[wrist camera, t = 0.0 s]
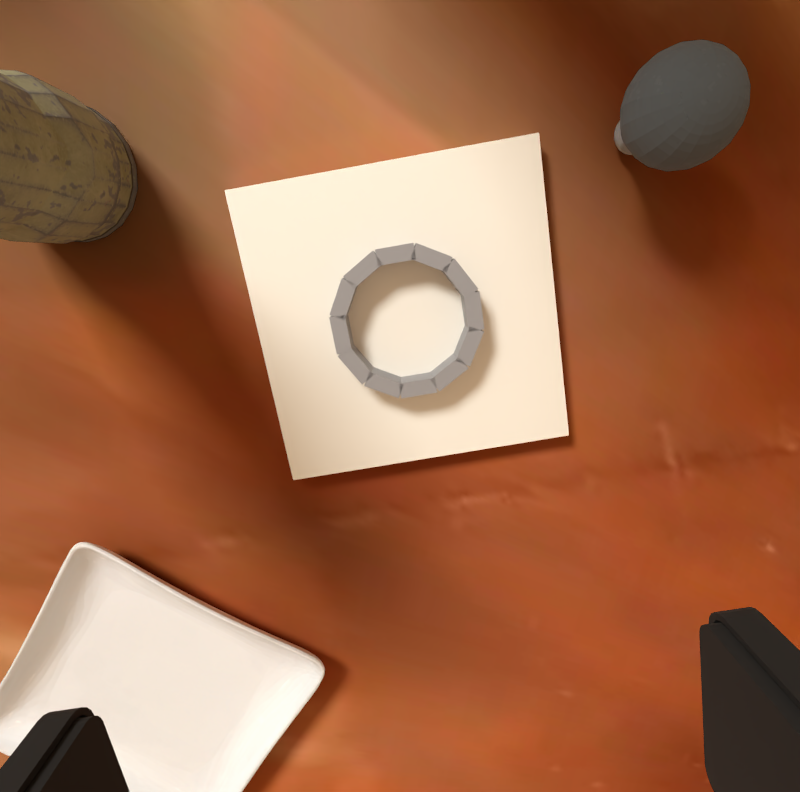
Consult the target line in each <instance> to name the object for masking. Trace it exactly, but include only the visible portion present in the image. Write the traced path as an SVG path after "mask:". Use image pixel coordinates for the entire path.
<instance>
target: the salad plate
mask: <svg viewBox="0 0 800 792" xmlns="http://www.w3.org/2000/svg"><path fill="white" fill-rule="evenodd" d="M324 674H325V668H324V665H323V663H322V661H321V660H320V659H319V658H318V657H317V656H315V655H314V654H312V653H311V652H309V651H307V650H305V649H303V648H301V647H299V646H297V645H294V644H292V643H290V642H287V641H285V640H283V639H280V638H278V637H276V636H274V635H271V634H269V633H267V632H265V631H263V630H260V629H258V628H256V627H254V626H252V625H249V624H247V623H245V622H243V621H241V620H239V619H237V618H235V617H233V616H231V615H229V614H227V613H225V612H223V611H221V610H219V609H217V608H215V607H213V606H211V605H209V604H207V603H205V602H203V601H201V600H199V599H197V598H195V597H193V596H191V595H189V594H188V593H186V592H184V591H182V590H180V589H178V588H176V587H174V586H172V585H171V584H169V583H167V582H165V581H163V580H162V579H160V578H158V577H156V576H155V575H153V574H151V573H149V572H147V571H146V570H144V569H142V568H141V567H139V566H137V565H135V564H134V563H132V562H130V561H129V560H127V559H125V558H123V557H122V556H120V555H118V554H116V553H114V552H113V551H111V550H108V549H106V548H104V547H102V546H99V545H96V544H92V543H88V542H80V543H77V544H76V545H74V546H73V548H72V549H71V550H70V552H69V554H68V556H67V557H66V559H65V561H64V563H63V565H62V567H61V569H60V571H59V573H58V575H57V577H56V579H55V581H54V583H53V585H52V587H51V589H50V591H49V593H48V595H47V597H46V599H45V601H44V603H43V606H42V608H41V610H40V612H39V614H38V616H37V617H36V619H35V621H34V623H33V625H32V627H31V629H30V631H29V633H28V635H27V637H26V639H25V641H24V643H23V645H22V647H21V649H20V651H19V652H18V654H17V656H16V658H15V660H14V662H13V664H12V665H11V667H10V669H9V671H8V672H7V674H6V676H5V677H4V679H3V680H2V682H1V684H0V752H2V753H4V754H6V755H8V756H11V755H12V753H13V752H14V751H15V749H16V748H17V747H18V745H19V744H20V743H21V742H22V740H23V739H24V738H25V736H26V735H27V734H28V733H29V731H30V730H31V729H32V727H33V726H34V725H35V724H36V722H37V721H38V720H39V719H40V718H41V717H42V716H43V715H45V714H47V713H49V712H53V711H60V710H67V709H73V708H80V707H87V708H89V709H90V710H92V712H93V714H94V716H99V717H101V719H102V720H103V722H104V725H105V727H106V730H107V733H108V735H109V738H110V741H111V743H112V746H113V749H114V751H115V754H116V757H117V759H118V762H119V765H120V767H121V770H122V773H123V775H124V778H125V781H126V783H127V786H128V789H129V791H130V792H243V790H244V789H245V787H246V786H247V784H248V783H249V781H250V780H251V778H252V777H253V776H254V774H255V773H256V771H257V770H258V768H259V767H260V765H261V764H262V763H263V761H264V760H265V758H266V757H267V755H268V754H269V753H270V751H271V750H272V748H273V747H274V746H275V744H276V743H277V742H278V740H279V739H280V738H281V736H282V735H283V734H284V732H285V731H286V730H287V728H288V727H289V726H290V724H291V723H292V722H293V720H294V719H295V718H296V716H297V715H298V714H299V712H300V711H301V710H302V708H303V707H304V706H305V704H306V703H307V702H308V701H309V699H310V698H311V697H312V695H313V694H314V692H315V691H316V690H317V688H318V687H319V685H320V683H321V681H322V679H323V677H324Z"/></svg>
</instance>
